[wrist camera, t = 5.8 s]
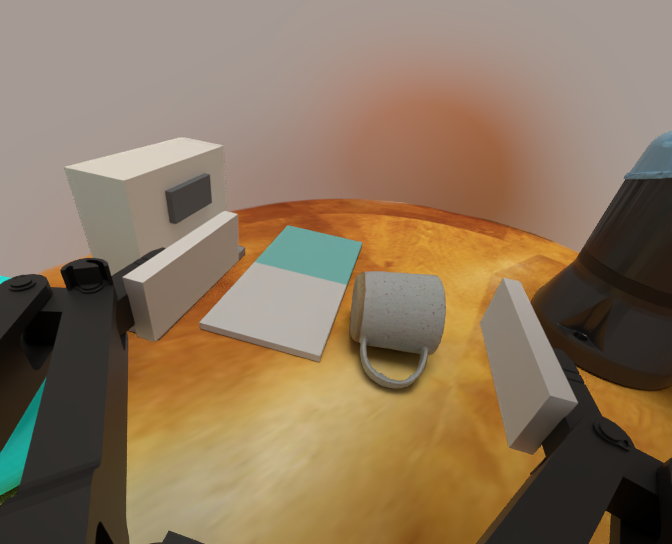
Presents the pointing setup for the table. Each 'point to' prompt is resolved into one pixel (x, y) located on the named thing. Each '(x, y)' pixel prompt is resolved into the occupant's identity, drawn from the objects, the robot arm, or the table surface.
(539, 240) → the table surface
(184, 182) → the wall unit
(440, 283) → the ceramic mug
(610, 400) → the table surface
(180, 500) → the table surface
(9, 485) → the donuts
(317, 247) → the mat
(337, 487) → the table surface
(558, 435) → the robot arm
